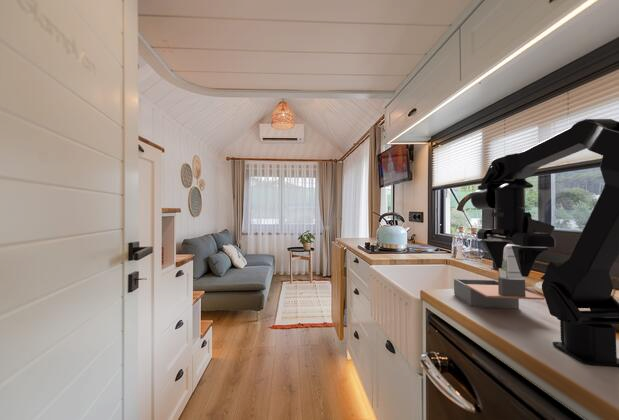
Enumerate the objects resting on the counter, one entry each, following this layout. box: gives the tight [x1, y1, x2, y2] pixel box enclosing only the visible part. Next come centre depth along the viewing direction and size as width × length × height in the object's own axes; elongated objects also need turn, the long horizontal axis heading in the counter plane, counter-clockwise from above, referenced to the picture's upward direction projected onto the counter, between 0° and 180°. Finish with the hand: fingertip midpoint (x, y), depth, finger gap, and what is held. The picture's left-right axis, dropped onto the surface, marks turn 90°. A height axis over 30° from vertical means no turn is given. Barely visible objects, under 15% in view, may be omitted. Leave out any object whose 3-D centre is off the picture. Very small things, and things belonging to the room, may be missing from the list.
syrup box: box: [498, 243, 527, 288], centre depth 89 cm, size 6×6×14 cm
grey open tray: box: [453, 278, 520, 309], centre depth 71 cm, size 10×12×5 cm
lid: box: [466, 277, 545, 301], centre depth 64 cm, size 10×12×4 cm
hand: (510, 271), depth 60 cm, fingers open, 9 cm apart
